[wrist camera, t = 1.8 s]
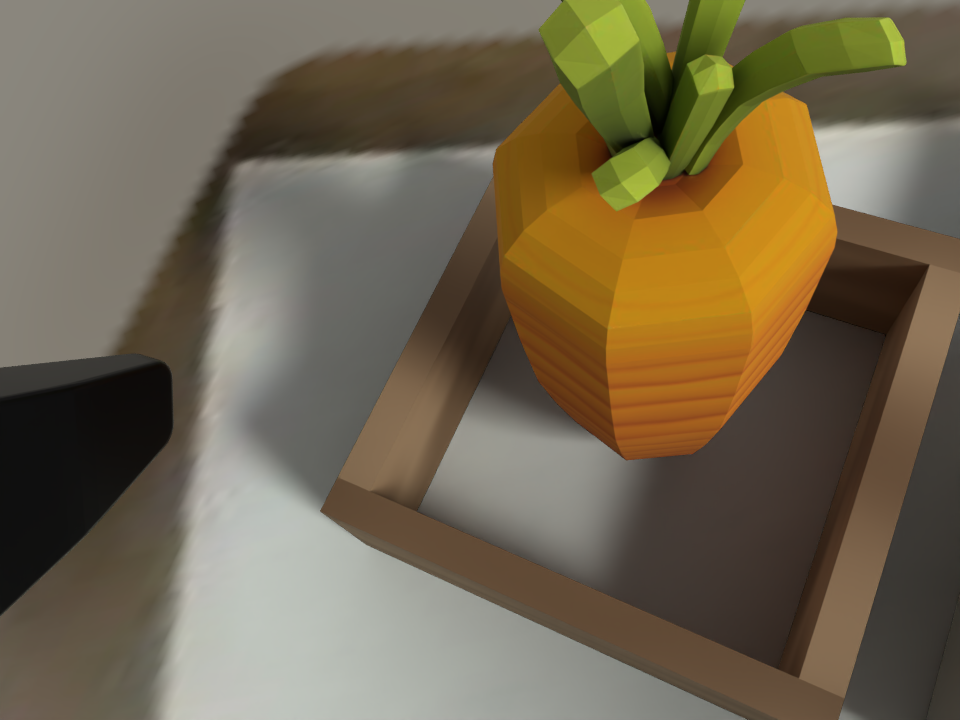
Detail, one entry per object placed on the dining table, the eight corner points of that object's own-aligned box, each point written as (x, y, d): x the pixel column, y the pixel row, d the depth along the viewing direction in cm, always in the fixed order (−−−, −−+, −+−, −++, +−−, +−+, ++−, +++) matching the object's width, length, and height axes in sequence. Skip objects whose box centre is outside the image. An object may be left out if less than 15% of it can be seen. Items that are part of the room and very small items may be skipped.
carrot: (683, 308, 23) (753, -337, 9) (793, 470, 20) (1100, -52, 7) (514, 394, 22) (325, -132, 9) (607, 568, 20) (546, 225, 7)
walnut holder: (797, 742, 18) (830, 742, 15) (366, 544, 21) (320, 511, 18) (928, 317, 21) (979, 244, 18) (536, 200, 25) (521, 121, 21)
